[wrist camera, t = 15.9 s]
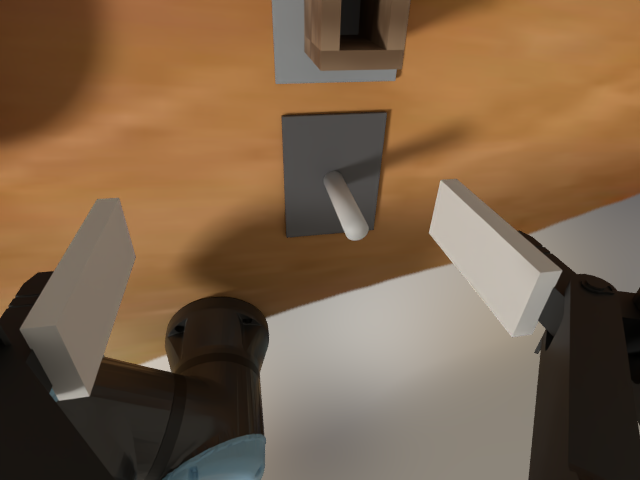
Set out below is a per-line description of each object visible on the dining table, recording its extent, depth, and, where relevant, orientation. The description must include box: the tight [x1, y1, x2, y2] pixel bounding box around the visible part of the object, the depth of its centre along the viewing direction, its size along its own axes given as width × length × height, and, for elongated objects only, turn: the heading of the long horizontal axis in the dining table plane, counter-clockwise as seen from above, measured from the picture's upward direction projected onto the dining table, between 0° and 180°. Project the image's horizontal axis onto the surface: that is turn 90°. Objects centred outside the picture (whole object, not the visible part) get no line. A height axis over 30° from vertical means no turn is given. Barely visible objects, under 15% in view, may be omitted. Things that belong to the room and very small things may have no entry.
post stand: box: [282, 112, 387, 241], centre depth 44 cm, size 16×12×12 cm
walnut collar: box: [304, 0, 411, 71], centre depth 34 cm, size 7×7×9 cm
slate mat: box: [272, 0, 397, 84], centre depth 38 cm, size 13×13×1 cm
